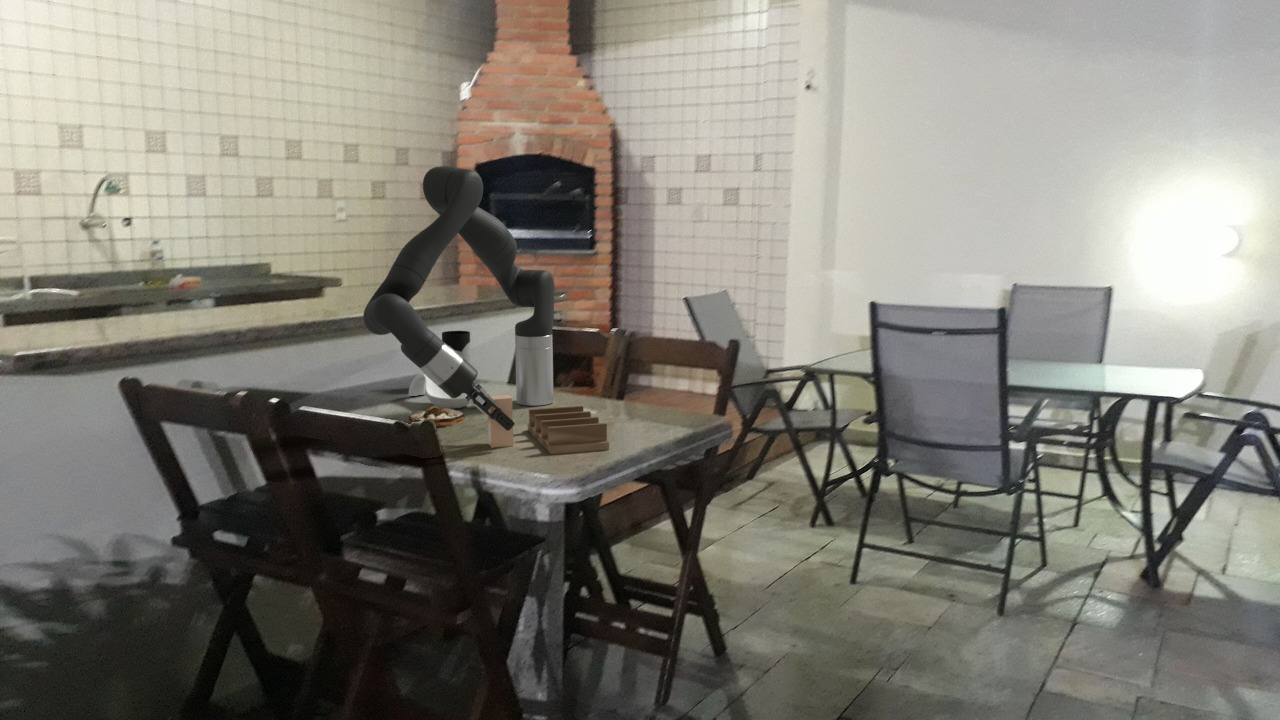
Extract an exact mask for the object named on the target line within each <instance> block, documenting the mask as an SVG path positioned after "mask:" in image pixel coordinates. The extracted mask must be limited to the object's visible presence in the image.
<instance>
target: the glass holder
mask: <svg viewBox="0 0 1280 720" xmlns="http://www.w3.org/2000/svg"><path fill="white" fill-rule="evenodd" d="M441 340H442V341H443V342H444V343H445V344H447V345H448V346H450V347H451V348H453V349H454V350H455V351H456V352H457V353H458V354H459V355H460V356H462V357H463V358H464V359H465V360H466V361H467V362H468V363H469V364H470V365H472V340H471V332H470V331H468V330H448V331H447V330H446V331H443V332H441Z"/></svg>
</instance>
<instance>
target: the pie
mask: <svg viewBox="0 0 1280 720" xmlns="http://www.w3.org/2000/svg"><path fill="white" fill-rule="evenodd" d="M424 419H429V420H431V421H433V422H434V423H435V425H436V427H437V428H438V427H441V428H442V427H443V428H447V427H446V426H451V427H453V426H452V425H454V426H457V425H459V424H458V423H460V424H462V423H463V421H464V420H465V419H466V415H465V413H463V412H462V411H460V410H457V409H449V408H439V407H437V406H435V405H432V406H430V407H428V408H427V409H425V410H415V411H412V412H410V413H409V415H408V421H409V424H410V423H412V422H419V421H422V420H424ZM456 424H457V425H456ZM438 429H439V428H438Z"/></svg>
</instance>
